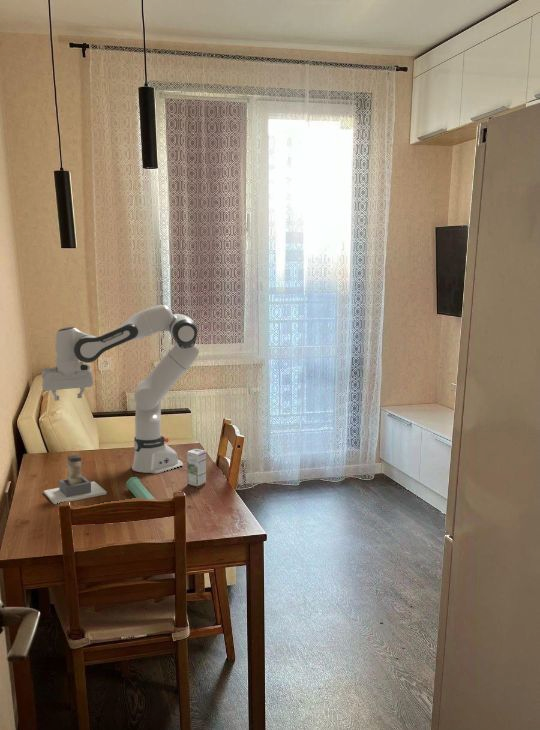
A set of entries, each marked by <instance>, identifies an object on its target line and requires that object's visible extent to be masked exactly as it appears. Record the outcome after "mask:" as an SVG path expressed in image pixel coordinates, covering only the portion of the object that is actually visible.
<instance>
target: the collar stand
mask: <svg viewBox="0 0 540 730" xmlns="http://www.w3.org/2000/svg"><path fill="white" fill-rule="evenodd" d="M58 486H59V487H55V488H50V489H46V490H43V494H44V495H45V496H46V498H48V499H49V501H51V503H53V505H54V504H55V505H60V504H61V503H60V502H64V501H70V502H73V501H79V500H83V499H89V498H94V497H99V496H104V495H107V494H108V493H107V491H106V490H105V489H104V488H103V487H101V486H100V484H98V483H97V482H96V481H89V479H88V478H86V477H85V476H84V475H82V483H81V484H75V485H70V486H68V477H67V478H62V479H59V480H58ZM57 503H58V504H57ZM59 503H60V504H59Z"/></svg>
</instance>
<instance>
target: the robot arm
mask: <svg viewBox="0 0 540 730" xmlns="http://www.w3.org/2000/svg"><path fill="white" fill-rule="evenodd" d="M160 332H169V334H170V336H171V337H172V338H173V340H174V341H175V343H174V345H173V346H172V348H170V350H169V351H168V352H167V353H166V354H165V356H163V358H162V359H161V360H160V361H159V362H158V363H157V364H156V366H155V367H154V368H153V369H152V370H151V372H150V373H149V374H148V376H147V377H146V378H145V379H143V380H141V381H140V382H139V383H138V384H137V385H136V389H135V391H134V394H133V399H134V403H135V416H134V417H135V419H134V421H135V422H134V426H135V427H134V428H135V429H134V431H135V432H134V434H135V436H134V440H133V441H134V444H133V446H134V447H133V448H134V456H133V462H132V467H131V469H132V471H134V472H139V473H144V474H145V473H147V474H149V473H150V474H160V473H161V474H162V473H165V472H168V471H171V469H172V470H175V469H174V468H176V469H178V468H177V467H179V468H181V467H180V466H182V467H184V463H183V461H181V460H180V459H178V453H177V451H176V450H174V449H173V448H172V447H170V446H169V445H167V444H166V443H168V442H170V441H169V440H170V439H169V438H168V437H167V436H165V437H164V436H163V435H162V430H161V429H162V427H161V426H162V425H161V424H162V423H161V422H162V421H161V420H162V419H161V418H162V412H161V411H162V403H161V402H162V400H163V398H164V397H165V396H166V395H167V394H168V392H169V391H170V390H171V389H172V388H173V387H174V385H175V384H176V383H177V381H178V380H179V379H181V377H182V376H183V375H184V373H186V371H187V370H188V369H189V368H190V366H191V365H192V364H193V363H194V361H195V360H196V359H197V356H199V353H200V349H199V346H198V345H197V343H196V340H197V337H198V327H197V325H196V324H195V321H194V320H193V319H192V318H191V317H190V316H189V315H187V314H185V313H181V312H174V311H172V310H171V308H170V307H169V306H168V305H166V304H160V305H159V304H158V305H155V306H152V307H148V308H145V309H143V310H140V311H138V312H136V313H134V314H133V315H131V316H129V317H128V318H127V319H126V320H125V321H124V322H123V323H122V324H121V325H120V326H119V327H117V328H116V329H113V330H111V331H109V332H106V333H103V334H102V335H100V336H95V335H93V334H89V333H86V332H83V331H81V330H79V329H78V328H77V327H74V326H69V327H63V328H60V329H59V330H57V332H56V334H55V352H56V357H55V366H54V367H47V368H45V369H43V370H42V371H41V378H42V381H41V388H42V389H43V390H44V391H46V392H49V391H50V392H51V393H52V395H53V397H54V401H56V402H57V401H60V396H59V395H57V391H58V390H61V391H62V390H71V389H79V393H77V394H76V395H77V396H76V397H77V399H82V398H83V394H84V392H85V389H86V388H91V387H93V385H94V378H93V373H92V371H91V366H90V363H94V362H95V361H97V359H99V358H100V357H101V355H102V354H103V353H105V352H106V351H109V350H111V349H113V348H115V347H117V346H120V345H122V344H124V343H125V344H126V343H128V342H131V341H137V340H141V339H144V338H147V337H151V336H152V335H155V334H158V333H160ZM88 363H89V364H88ZM167 470H168V471H167ZM164 471H165V472H164Z"/></svg>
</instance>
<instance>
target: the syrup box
mask: <svg viewBox="0 0 540 730" xmlns="http://www.w3.org/2000/svg"><path fill="white" fill-rule="evenodd" d="M186 454H187V455H186V457H187V458H186V460H187V462H186V463H187V466H186V467H187V471H186V472H187V473H186V474H187V479H186V480H187V482H186V483H187V484H191V485H196V486H198V485H200V484H202V483H204V482H206V483H207V451H206V450H204V449H199V448H193V449H190V450H188V451H186Z"/></svg>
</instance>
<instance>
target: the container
mask: <svg viewBox="0 0 540 730" xmlns="http://www.w3.org/2000/svg"><path fill="white" fill-rule="evenodd" d="M126 489H128V490H129V491H130V492H131V493H132V494H133V496H134V497H135V498H136V499H137V498H144V499H155V497H154V496H153V495H152V494H151V492H149V490H148V489H147V488H146V487H145V486H144V485H143V483H142V482H141V479H140V478H139V477H137V476H133V477H130V478H129V479H127V480H126Z"/></svg>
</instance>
